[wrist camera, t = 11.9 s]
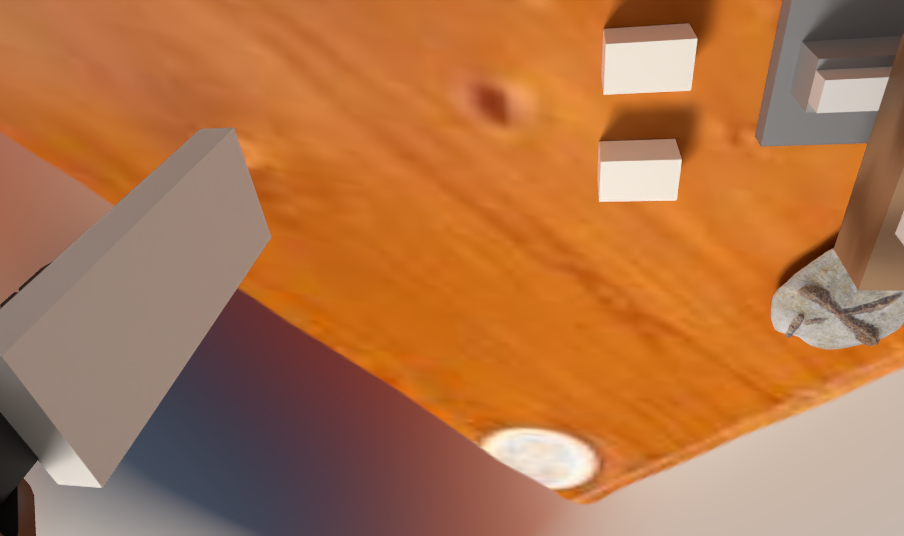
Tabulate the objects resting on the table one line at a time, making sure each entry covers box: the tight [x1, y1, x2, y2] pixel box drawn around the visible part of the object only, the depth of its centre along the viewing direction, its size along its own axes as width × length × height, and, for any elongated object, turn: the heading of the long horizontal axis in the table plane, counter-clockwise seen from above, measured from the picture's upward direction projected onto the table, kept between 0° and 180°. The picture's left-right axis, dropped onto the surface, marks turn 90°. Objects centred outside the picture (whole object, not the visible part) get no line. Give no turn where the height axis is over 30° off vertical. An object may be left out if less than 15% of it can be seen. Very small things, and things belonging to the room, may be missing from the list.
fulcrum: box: [755, 0, 904, 146], centre depth 34 cm, size 10×12×6 cm
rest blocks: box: [597, 23, 698, 202], centre depth 39 cm, size 10×5×3 cm, turn 6°
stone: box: [771, 248, 904, 349], centre depth 44 cm, size 12×9×3 cm
